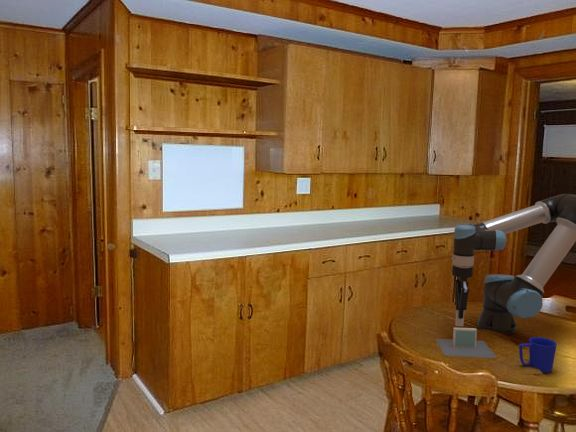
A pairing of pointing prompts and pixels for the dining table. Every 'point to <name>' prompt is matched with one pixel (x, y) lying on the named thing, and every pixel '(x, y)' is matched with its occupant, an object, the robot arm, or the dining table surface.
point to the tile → (464, 337)
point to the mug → (540, 353)
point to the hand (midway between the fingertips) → (459, 325)
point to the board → (465, 349)
